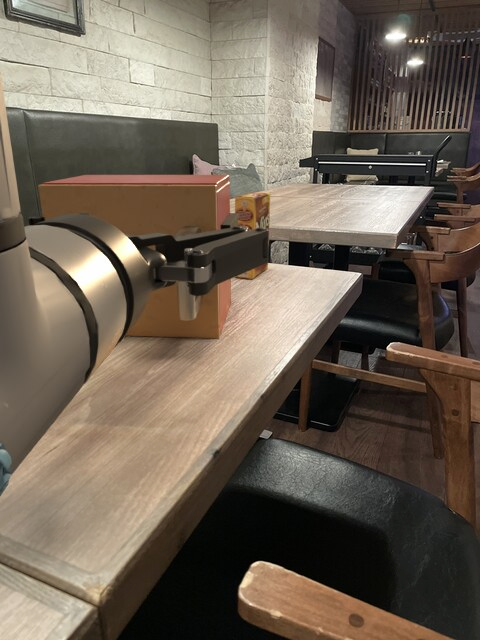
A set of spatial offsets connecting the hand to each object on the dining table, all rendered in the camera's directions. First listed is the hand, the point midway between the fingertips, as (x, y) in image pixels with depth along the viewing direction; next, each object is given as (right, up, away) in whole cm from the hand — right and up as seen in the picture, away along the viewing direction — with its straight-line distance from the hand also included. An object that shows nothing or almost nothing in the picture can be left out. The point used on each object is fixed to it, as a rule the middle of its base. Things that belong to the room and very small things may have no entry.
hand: (159, 227), depth 45 cm
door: (-7, -12, +19) cm, 23 cm away
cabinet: (-6, -8, +29) cm, 31 cm away
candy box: (+10, +1, +53) cm, 53 cm away
